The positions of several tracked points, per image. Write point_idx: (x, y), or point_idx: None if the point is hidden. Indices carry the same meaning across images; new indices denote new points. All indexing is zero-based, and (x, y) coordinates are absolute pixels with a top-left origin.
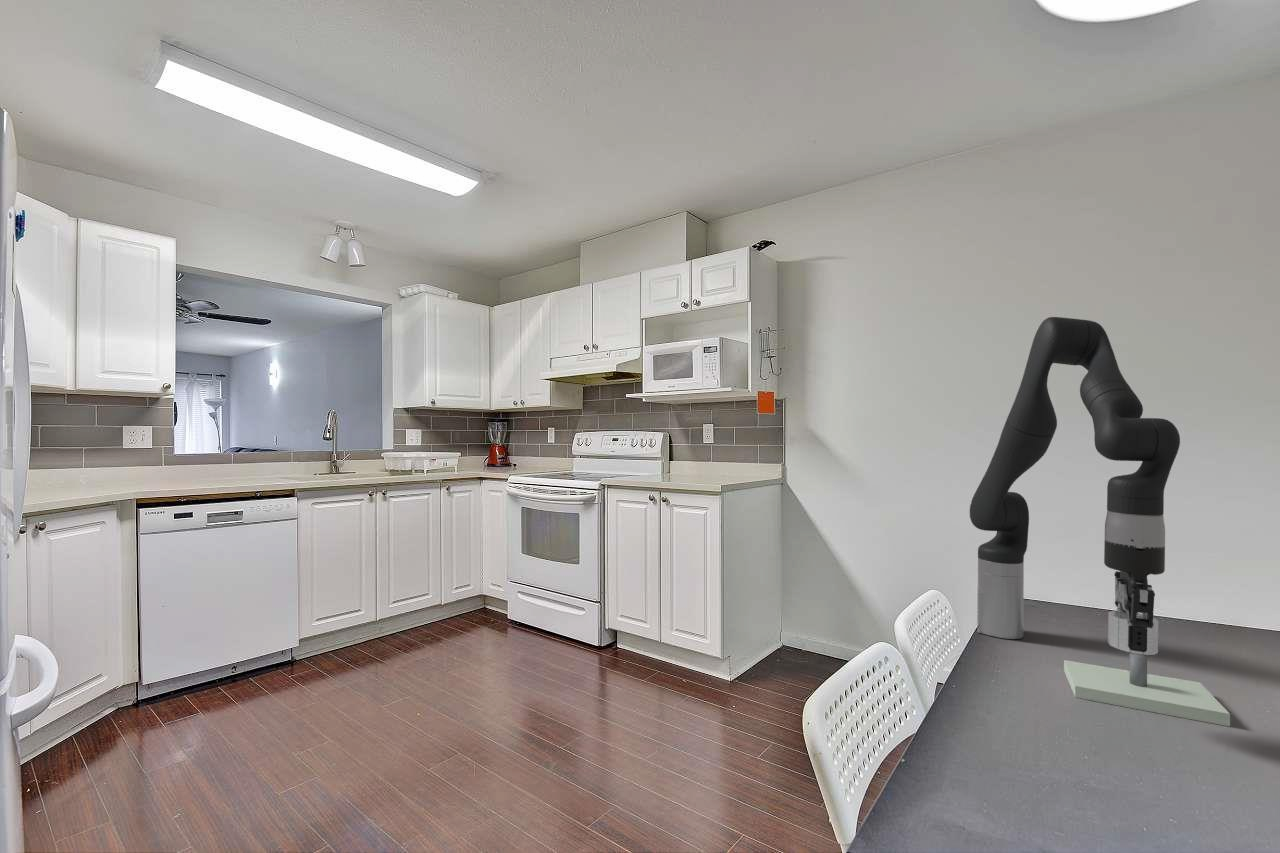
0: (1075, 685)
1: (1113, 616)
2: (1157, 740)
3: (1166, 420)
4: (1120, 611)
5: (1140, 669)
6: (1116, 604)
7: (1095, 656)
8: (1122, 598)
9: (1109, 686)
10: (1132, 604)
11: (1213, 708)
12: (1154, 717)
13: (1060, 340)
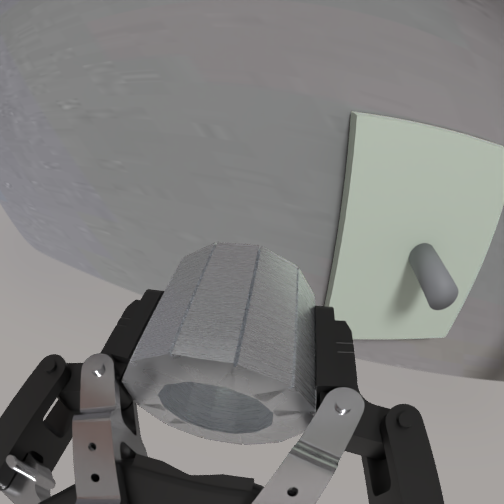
0: (361, 116)
1: (152, 354)
2: (198, 213)
3: None
4: (296, 405)
5: (420, 279)
6: (395, 416)
7: None
8: (99, 468)
9: (389, 195)
10: (9, 424)
11: None
12: (315, 237)
13: None
